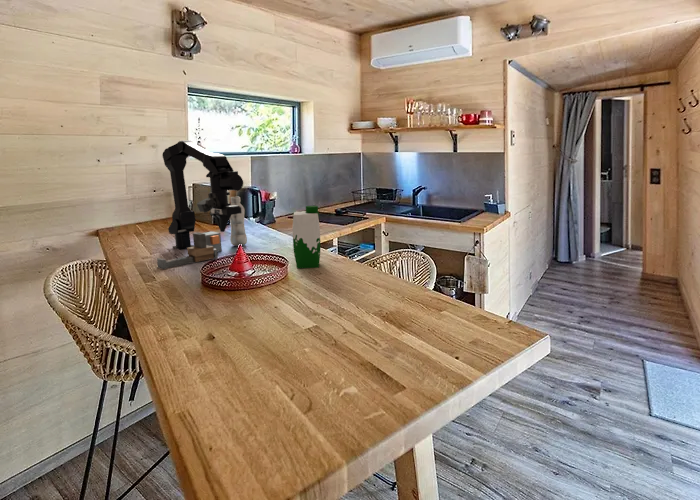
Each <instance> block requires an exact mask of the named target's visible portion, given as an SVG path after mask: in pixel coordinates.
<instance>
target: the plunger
mask: <svg viewBox="0 0 700 500" xmlns="http://www.w3.org/2000/svg"><path fill="white" fill-rule="evenodd" d="M210 242H211V244H219V243H220V240H219V236H218V235H215V236H210Z"/></svg>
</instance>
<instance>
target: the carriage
mask: <svg viewBox="0 0 700 500" xmlns="http://www.w3.org/2000/svg"><path fill="white" fill-rule="evenodd" d="M203 233H204V232H198V231H197V232H193V233H192V239H193V245H194V247H189V248H186V250H187V252H186V253H187V255H188V256H194V258H195V262H194V263H197V262H198V263H199V262H204V261H207V260H212V259H215V258H214V254H213V253H214V247H213V246H208V245H206V237H205V234H203Z"/></svg>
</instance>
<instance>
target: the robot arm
mask: <svg viewBox="0 0 700 500" xmlns="http://www.w3.org/2000/svg"><path fill="white" fill-rule="evenodd" d="M161 157H162V159H163V163H164V166H165V167H166V168H167V170H168V171H169V173H170V174H169V175H170V179H171V180H170V181H171V187H172V188H171V189H172V195H173V200H174V202H173V203H174V210H173V212H172V215H171V217H172V218H171V219H172V220H171V223H170V225H169V227H168V228H167V230H168V233H169V235H170V234H171V235H174V241H175V245H174V246H171V247H172V248H173V249H177V250H185V249H187V248H189V247H194V244H192V243H191V242H192V241H191V236H190V235H191V234H190V233H191V232H193V233H194V232H195V227H196V221H197V219H196V213H195V211H194V210H191V208H190V207H189V202H188V195H187V188H186V180H185V173H184V170H185V168H186V165H187V159H188V158H189V157H192V158H194V159H195V160H198V161H199V162H201V163H202V166H203V167H204V169H206V170H207V171H209V172H208V173H207V174H206V175H205V177H206V178H209V184H210V185H209V186H210V192H208V196H207V198H204V199H202V200H200V201H198V202H197V203H196V206H197V208H198V209H199V212H200V213H201V212H202V213H208V212H210V213H208V214H209V215H210V216H212V218H214V219H215V221H216V224H217V227H218V229H219V231H220V232H221V233H224V232H225V231H226V228H227V225H228V223H229V222H230V217H231V215H233V214H240V213H242V210H241V207H240V206H237V205H231V203H232V202H229V197H228V196H230V195H231V193H230V191H237V192H238V191H241V189H242V188H243V186H244V180H243V178H242V176H241V175H240V174H239V172H238V171H237V170H235V171H234V168H233V167H232V166H231V163H230V162H229V160H228V158H227V156H226V155H224V154H221V153H218V152H217V153H216V152H210V151H208V150H207V149H205V148H203V147H201V146H199V145H197V144H195V143H194V142H193V141H191V140H179V141H178V142H177V143H175V144H173V145H171V146H169V147H166V148H165V149H164V150H163V152H162V156H161Z"/></svg>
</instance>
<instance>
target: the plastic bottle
mask: <svg viewBox="0 0 700 500" xmlns="http://www.w3.org/2000/svg"><path fill="white" fill-rule="evenodd" d="M230 203H231V205H237V206H240V207H241V210H242V213H240V214H233V215H231V217H230V219H229V223H230V244H231V245H232V246H235V247H239V246H238V245H239V244H242V246H245V245H246V244H247V242H248V237H247V236H248V235H247V234H246V227H245V213H246V211H245V207H244V205H242V204H241V197H240V196H230Z"/></svg>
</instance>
